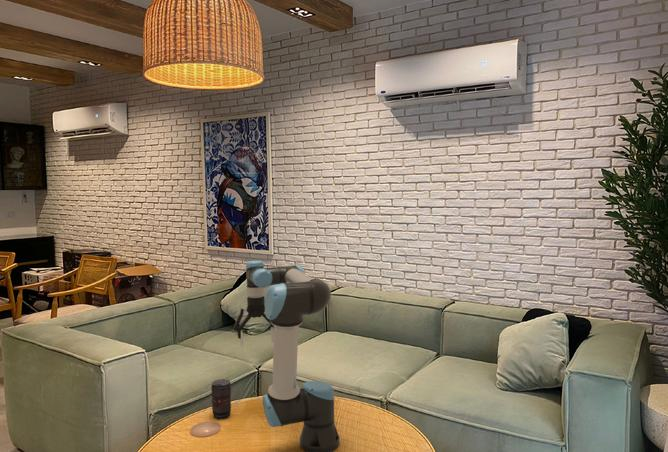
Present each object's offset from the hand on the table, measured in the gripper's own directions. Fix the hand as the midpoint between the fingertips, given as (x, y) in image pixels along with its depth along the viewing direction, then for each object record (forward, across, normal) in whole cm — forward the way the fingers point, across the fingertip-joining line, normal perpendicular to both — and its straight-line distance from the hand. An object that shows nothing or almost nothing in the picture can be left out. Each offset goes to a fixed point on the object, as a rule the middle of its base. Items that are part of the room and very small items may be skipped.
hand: (257, 343), depth 220 cm
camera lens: (+29, +16, +2) cm, 34 cm away
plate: (+29, +24, +13) cm, 40 cm away
